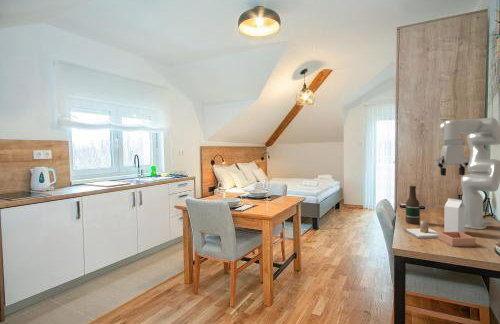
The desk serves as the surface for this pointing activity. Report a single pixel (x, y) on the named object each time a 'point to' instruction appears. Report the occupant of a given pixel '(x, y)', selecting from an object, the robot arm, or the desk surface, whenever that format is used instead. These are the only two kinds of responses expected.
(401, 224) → the desk surface
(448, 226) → the milk carton
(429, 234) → the cover
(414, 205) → the beer bottle
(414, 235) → the mat
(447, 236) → the terracotta square tray
